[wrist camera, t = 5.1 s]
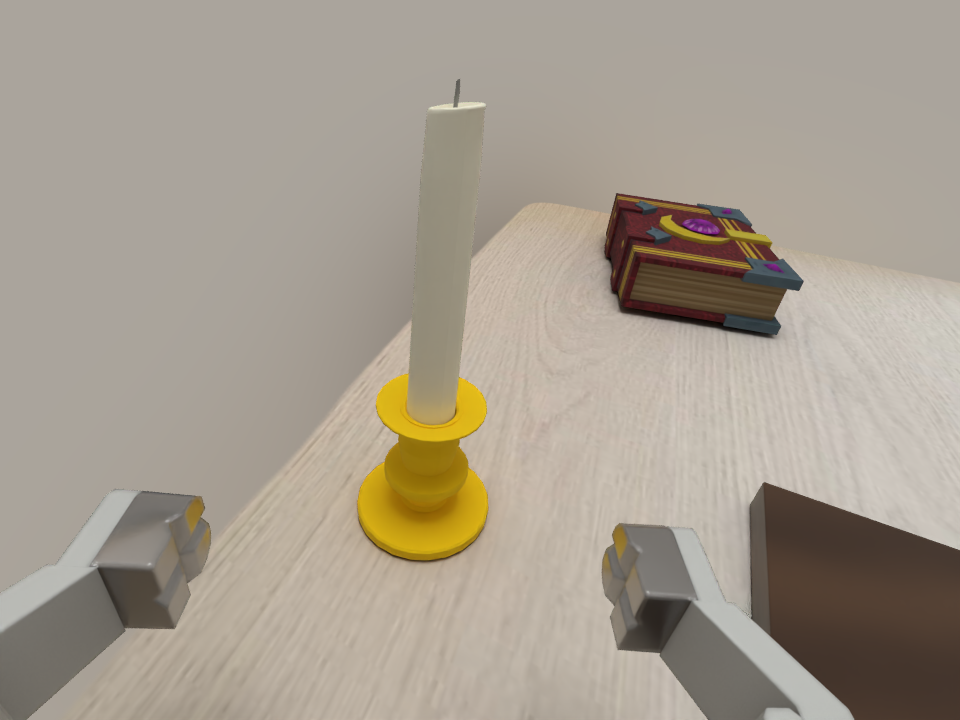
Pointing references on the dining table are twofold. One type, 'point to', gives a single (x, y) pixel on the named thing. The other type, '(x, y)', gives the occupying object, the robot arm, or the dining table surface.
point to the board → (859, 606)
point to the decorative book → (695, 263)
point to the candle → (434, 363)
